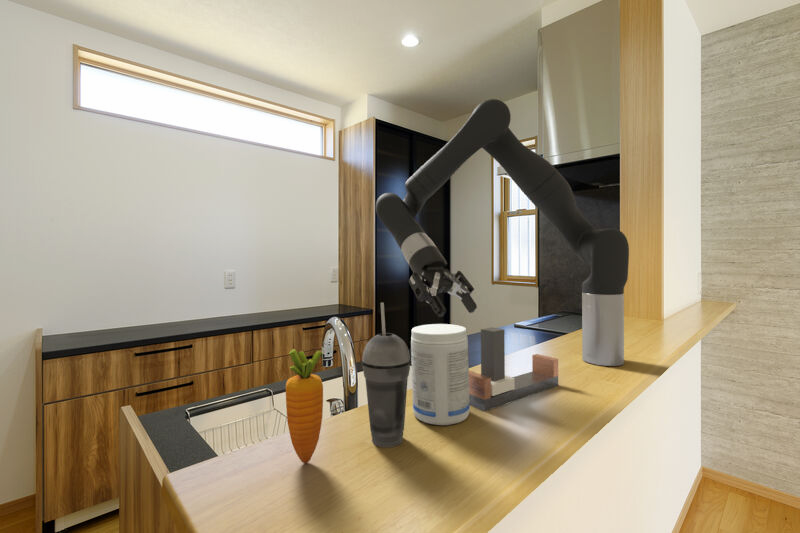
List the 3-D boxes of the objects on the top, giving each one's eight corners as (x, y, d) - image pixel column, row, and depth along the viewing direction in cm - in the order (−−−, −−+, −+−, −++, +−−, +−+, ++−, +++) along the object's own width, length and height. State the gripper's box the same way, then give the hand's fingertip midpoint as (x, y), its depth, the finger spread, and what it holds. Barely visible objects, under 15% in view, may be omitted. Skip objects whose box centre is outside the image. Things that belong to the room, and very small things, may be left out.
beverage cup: (374, 457, 50) (372, 307, 49) (355, 435, 56) (353, 302, 56) (421, 444, 53) (420, 303, 53) (398, 424, 59) (396, 299, 59)
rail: (537, 379, 81) (536, 354, 81) (558, 385, 77) (558, 358, 77) (464, 402, 68) (463, 372, 68) (484, 411, 64) (484, 379, 64)
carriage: (493, 381, 73) (492, 325, 73) (514, 389, 69) (514, 329, 69) (471, 388, 69) (471, 329, 69) (492, 396, 65) (492, 333, 65)
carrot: (329, 454, 51) (327, 344, 50) (318, 475, 46) (316, 353, 45) (294, 452, 51) (292, 343, 51) (279, 473, 46) (276, 352, 46)
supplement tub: (463, 403, 68) (462, 322, 68) (475, 426, 58) (474, 333, 58) (410, 404, 68) (409, 323, 67) (413, 428, 58) (412, 334, 58)
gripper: (404, 244, 79) (440, 303, 70) (454, 245, 87) (492, 297, 78) (390, 269, 83) (423, 327, 74) (439, 267, 92) (474, 320, 82)
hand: (458, 312), depth 76 cm, fingers open, 8 cm apart
